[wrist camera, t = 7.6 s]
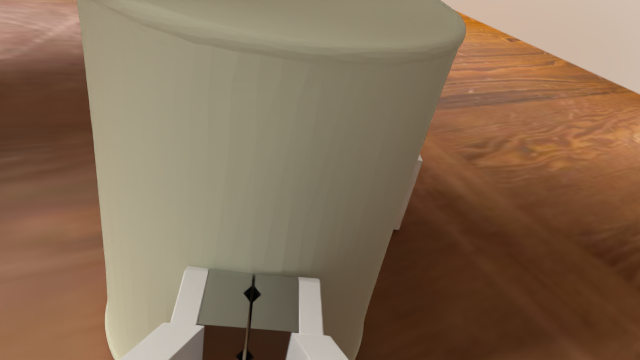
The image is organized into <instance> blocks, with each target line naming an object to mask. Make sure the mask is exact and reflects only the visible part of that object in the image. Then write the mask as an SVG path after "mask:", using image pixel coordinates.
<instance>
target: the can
mask: <svg viewBox="0 0 640 360" xmlns="http://www.w3.org/2000/svg"><path fill="white" fill-rule="evenodd" d="M77 5H78V12H79V19H80V26H81V35H82V43H83V52H84V61H85V70H86V79H87V87H88V96H89V105H90V114H91V122H92V131H93V140H94V151H95V161H96V172H97V182H98V192H99V203H100V213H101V224H102V234H103V244H104V255H105V265H106V280H107V296H108V301H107V306H106V313H105V330H106V336H107V341H108V345H109V348H110V351H111V353H112V356H113V358H114V360H120V359H121V358H122V357H123V356H124V355H126V354H127V353H128V352H129V351H130V350H131V349H133V348H134V347H135V346H136V345H137V344H139V343H140V342H141V341H142V340H143V339H144V338H146V337H147V336H148V335H149V334H150V333H152V332H153V331H154V330H155V329H156V328H157V327H159V326H160V325H161V324H162V323H170V322H171V318H172V314H173V311H174V307H175V304H176V300H177V296H178V293H179V289H180V285H181V282H182V278H183V274H184V271H185V269H186V267H187V266H193V267H201V268H209V269H210V268H213V269H221V270H229V271H238V272H246V273H253V276H252V286H251V294H250V305H249V313H248V322H247V330H246V338H245V346H244V351H243V360H245V354H246V346H247V334H248V325H249V316H250V309H251V301H252V296H253V287H254V280H255V274H256V273H259V274H270V275H282V276H293V277H297V278H298V277H305V278H317V279H319V280H320V282H321V298H322V314H323V329H324V335H325V336H331V338H332V339H333V340H334V342H335V343H336V344H337V345H338V347H339V348H340V349H341V350H342V352H343V353H344V354H345V356H346V357H347V358H348V359H349V360H355V358H356V356H357V353H358V351H359V347H360V344H361V341H362V335H363V325H364V319H365V316H366V312H367V309H368V306H369V302H370V299H371V296H372V293H373V290H374V287H375V284H376V281H377V278H378V275H379V272H380V268H381V265H382V262H383V259H384V256H385V253H386V250H387V247H388V244H389V241H390V238H391V235H392V232H393V230H394V227H395V224H396V221H397V218H398V215H399V212H400V209H401V206H402V203H403V200H404V197H405V194H406V191H407V189H408V186H409V183H410V180H411V177H412V174H413V171H414V168H415V165H416V163H417V160H418V157H419V154H420V151H421V149H422V146H423V143H424V140H425V137H426V134H427V132H428V129H429V126H430V123H431V120H432V117H433V115H434V112H435V109H436V106H437V103H438V101H439V98H440V95H441V92H442V90H443V87H444V84H445V82H446V79H447V76H448V74H449V71H450V68H451V66H452V63H453V60H454V58H455V55H456V53H457V51H458V48H459V46H460V45H461V44H462V42H463V40H464V37H465V34H466V26H465V23H464V21H463V19H462V18H461V16H460V15H459V14H458V13H457V12H456V11H455V10H453V9H452V8H450V7H449V6H448V5H446V4H445V3H443V2H442V1H440V0H77Z"/></svg>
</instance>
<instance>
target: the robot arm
mask: <svg viewBox="0 0 640 360" xmlns="http://www.w3.org/2000/svg"><path fill="white" fill-rule="evenodd" d="M252 276H253V273H246V272H238V271H229V270H221V269H213V268H210V269H209V268H201V267H193V266H187V267H186V269H185V271H184V274H183V278H182V282H181V285H180V289H179V293H178V296H177V300H176V304H175V307H174V311H173V314H172V318H171V322H170V323H162V324H161V325H160V326H159V327H157V328H156V329H155V330H154V331H153V332H152V333H150V334H149V335H148V336H147V337H146V338H144V339H143V340H142V341H141V342H140V343H139V344H137V345H136V346H135V347H134V348H133V349H131V350H130V351H129V352H128V353H127V354H126V355H124V356H123V357H122V358H121V359H120V360H243V351H244V346H245V338H246V330H247V322H248V313H249V305H250V294H251V286H252ZM245 360H349V359H348V358H347V357H346V356H345V354H344V353H343V352H342V350H341V349H340V348H339V347H338V345H337V344H336V343H335V342H334V340H333V339H332V338H331V336H325V335H324V329H323V314H322V298H321V282H320V280H319V279H317V278H305V277H298V278H297V277H293V276H282V275H270V274H259V273H256V274H255V280H254V287H253V296H252V301H251V309H250V316H249V325H248V334H247V346H246V354H245Z"/></svg>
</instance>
